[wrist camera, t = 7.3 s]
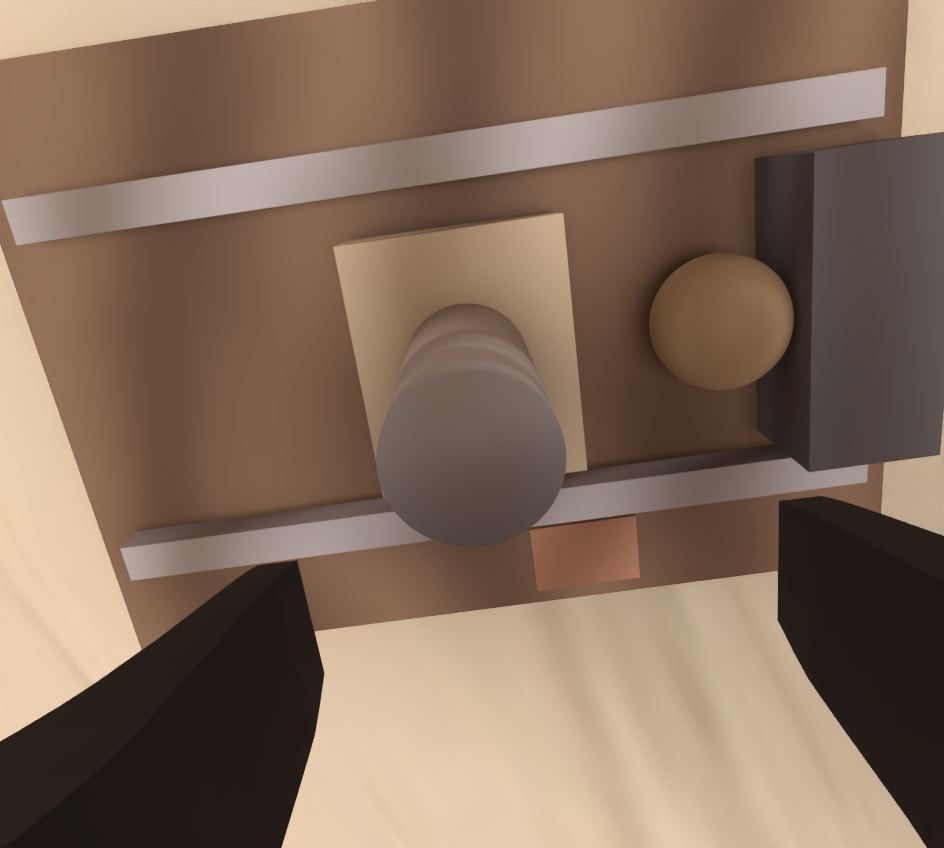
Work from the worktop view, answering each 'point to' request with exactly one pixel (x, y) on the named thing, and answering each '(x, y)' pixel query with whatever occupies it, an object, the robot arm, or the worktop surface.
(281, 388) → the board
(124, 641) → the worktop surface
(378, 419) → the press ram
